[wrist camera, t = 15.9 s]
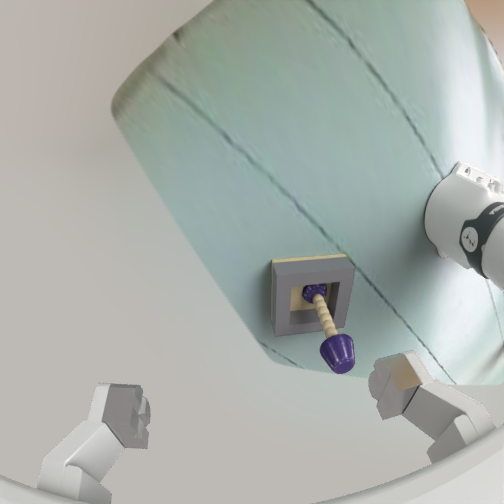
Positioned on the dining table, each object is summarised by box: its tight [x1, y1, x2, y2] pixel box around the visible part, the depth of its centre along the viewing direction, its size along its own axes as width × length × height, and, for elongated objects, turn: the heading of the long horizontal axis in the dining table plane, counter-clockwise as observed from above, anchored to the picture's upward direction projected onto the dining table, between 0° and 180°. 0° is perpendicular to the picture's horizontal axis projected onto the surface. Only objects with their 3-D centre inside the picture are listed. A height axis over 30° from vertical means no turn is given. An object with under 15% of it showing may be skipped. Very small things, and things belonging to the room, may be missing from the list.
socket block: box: [271, 254, 355, 337], centre depth 48 cm, size 12×12×4 cm
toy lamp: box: [302, 283, 355, 374], centre depth 42 cm, size 5×5×17 cm
